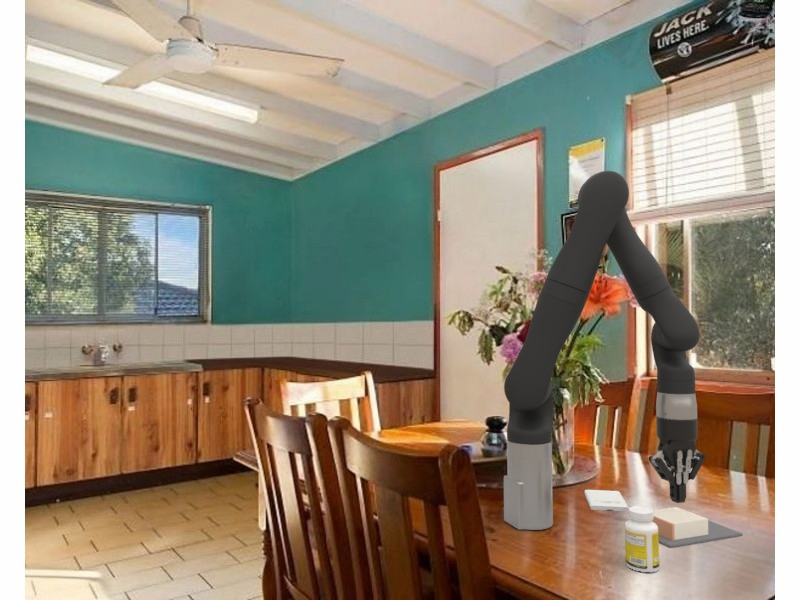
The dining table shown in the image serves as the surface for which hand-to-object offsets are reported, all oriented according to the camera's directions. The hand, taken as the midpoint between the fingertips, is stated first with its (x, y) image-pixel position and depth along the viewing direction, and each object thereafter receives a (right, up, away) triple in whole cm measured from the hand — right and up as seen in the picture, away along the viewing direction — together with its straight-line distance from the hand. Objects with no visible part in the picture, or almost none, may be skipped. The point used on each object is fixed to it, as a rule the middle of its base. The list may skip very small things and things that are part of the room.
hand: (678, 501), depth 120 cm
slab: (+3, -4, +1) cm, 5 cm away
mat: (+1, -6, 0) cm, 6 cm away
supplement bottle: (-14, -6, -17) cm, 23 cm away
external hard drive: (-8, -8, +19) cm, 22 cm away
